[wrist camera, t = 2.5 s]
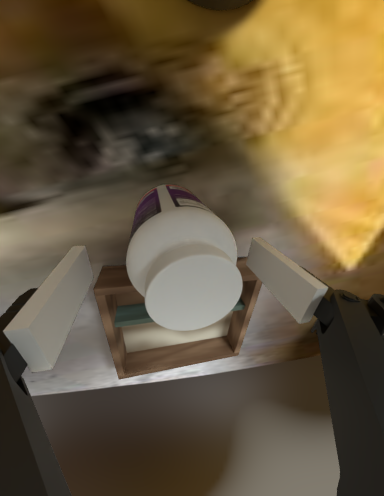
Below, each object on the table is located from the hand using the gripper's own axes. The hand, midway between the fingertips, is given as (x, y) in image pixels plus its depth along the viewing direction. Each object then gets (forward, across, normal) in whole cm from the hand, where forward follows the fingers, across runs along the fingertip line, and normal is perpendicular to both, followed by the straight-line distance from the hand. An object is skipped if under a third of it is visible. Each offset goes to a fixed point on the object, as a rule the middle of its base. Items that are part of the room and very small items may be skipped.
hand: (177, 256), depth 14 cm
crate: (+9, +2, -17) cm, 19 cm away
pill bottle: (+10, 0, 0) cm, 10 cm away
